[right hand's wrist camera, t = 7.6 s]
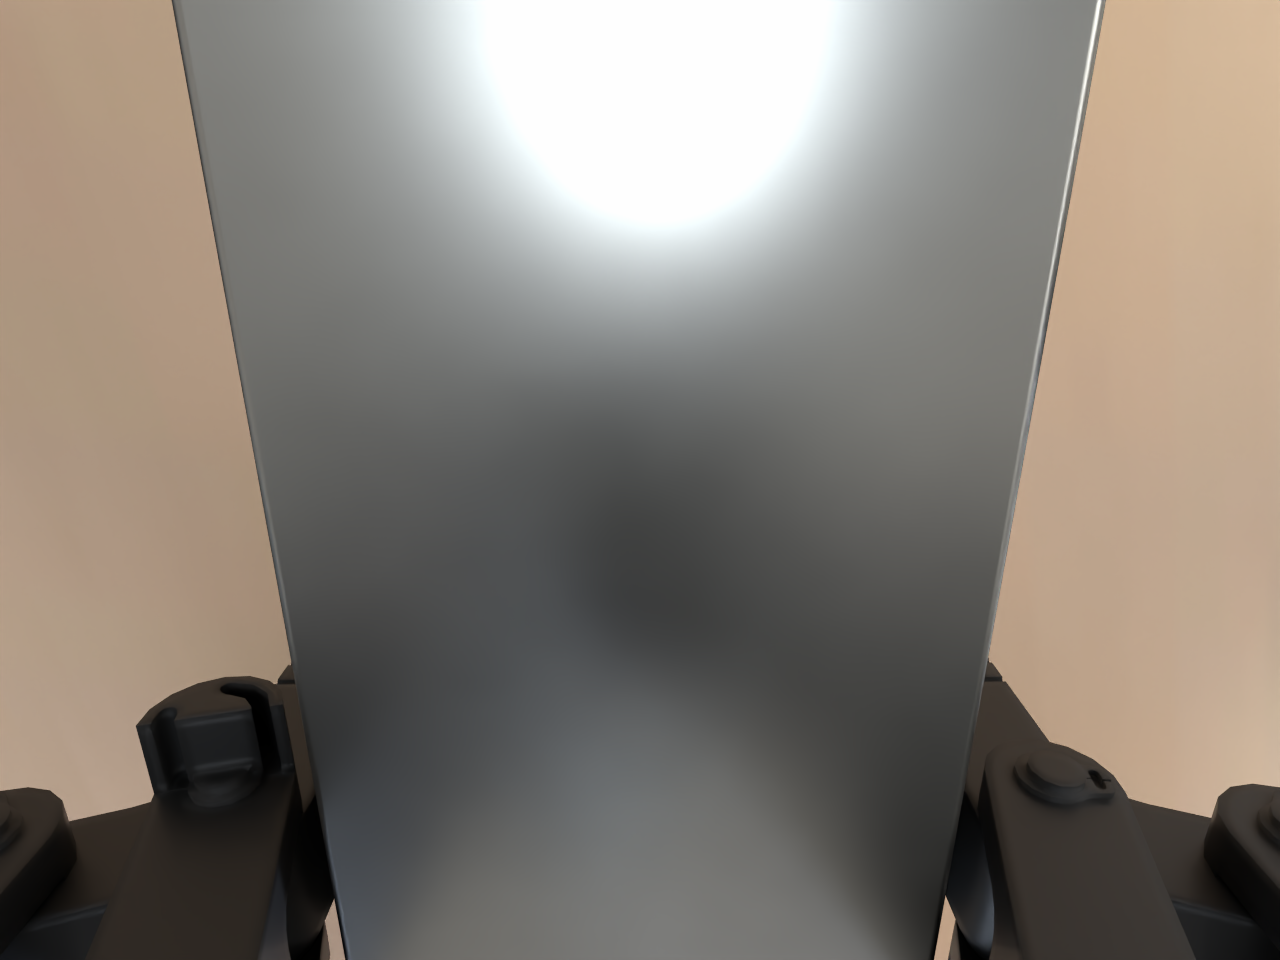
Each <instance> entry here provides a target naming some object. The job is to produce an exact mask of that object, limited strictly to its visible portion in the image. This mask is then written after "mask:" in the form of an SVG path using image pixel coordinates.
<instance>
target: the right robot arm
mask: <svg viewBox="0 0 1280 960" xmlns="http://www.w3.org/2000/svg"><path fill="white" fill-rule="evenodd" d="M136 728H137V732H138V736H139V739H140V743H141V747H142V750H143V754H144V758H145V761H146V765H147V769H148V772H149V776H150V780H151V784H152V787H153V791H154V796H153V798H152V801H151V802H149V803H146V804H143V805H139V806H136V807H132V808H128V809H123V810H119V811H114V812H110V813H105V814H101V815H96V816H92V817H87V818H83V819H78V820H74V821H69V820H68V817H67V814H66V811H65V808H64V805H63V802H62V800H61V799H60V798H58V797H57V796H56V795H55V794H54V793H52V792H51V791H50V790H43V789H36V788H29V787H27V788H20V789H12V790H5V791H0V960H329V959H330V950H329V943H328V936H327V930H326V925H325V919H326V916H327V914H328V912H329V909H330V907H331V905H332V902H333V900H334V894H333V888H332V883H331V877H330V872H329V866H328V861H327V855H326V850H325V844H324V838H323V833H322V827H321V822H320V816H319V811H318V805H317V800H316V794H315V789H314V783H313V778H312V772H311V767H310V761H309V756H308V750H307V745H306V739H305V734H304V728H303V722H302V717H301V711H300V706H299V700H298V695H297V689H296V684H295V678H294V673H293V667H292V662H291V665H288V666H287V668H286V669H285V670H284V672H283V673H282V674H281V676H280V677H279V679H278V684H273V683H272V682H270V681H268V680H264V679H260V678H255V677H251V676H243V677H224V678H219V679H215V680H211V681H206V682H202V683H198V684H195V685H193V686H191V687H188V688H186V689H184V690H181V691H179V692H176V693H174V694H172V695H170V696H169V697H167V698H166V699H164V700H163V701H161V702H160V703H158V704H157V705H155V706H154V707H152V708H151V709H150V710H149V711H148V712H147V713H146V714H145V716H144V717H143V718H142V719H141V721H140V722H139V723H138V724H137V725H136ZM946 897H947V900H948V902H949V904H950V907H951V909H952V911H953V914H954V916H955V918H956V920H955V925H954V930H953V936H952V941H951V946H950V952H949V957H948V960H1280V787H1272V786H1265V785H1258V784H1248V785H1241V786H1234V787H1230V788H1229V789H1227V790H1226V791H1225V792H1224V793H1222V794H1221V795H1220V796H1219V797H1218V799H1217V803H1216V806H1215V809H1214V812H1213V815H1212V818H1209V817H1204V816H1199V815H1195V814H1190V813H1186V812H1181V811H1177V810H1172V809H1168V808H1163V807H1158V806H1154V805H1149V804H1146V803H1142V802H1139V801H1135V800H1132V799H1128V797H1127V795H1126V793H1125V791H1124V790H1123V788H1122V787H1121V785H1120V784H1119V783H1118V781H1117V780H1116V778H1115V777H1114V775H1112V774H1111V773H1110V772H1109V771H1107V770H1106V769H1105V768H1103V767H1102V766H1101V765H1100V764H1098V763H1097V762H1096V761H1094V760H1093V759H1091V758H1089V757H1087V756H1085V755H1083V754H1081V753H1079V752H1077V751H1075V750H1073V749H1071V748H1069V747H1066V746H1062V745H1058V744H1054V743H1051V742H1049V741H1048V739H1047V738H1046V736H1045V735H1044V734H1043V732H1042V731H1041V730H1040V728H1039V727H1038V725H1037V724H1036V723H1035V721H1034V720H1033V719H1032V717H1031V716H1030V714H1029V713H1028V712H1027V710H1026V709H1025V708H1024V706H1023V705H1022V703H1021V702H1020V701H1019V699H1018V698H1017V697H1016V695H1015V694H1014V692H1013V691H1012V690H1011V688H1010V687H1009V686H1008V684H1007V683H1006V682H1003V681H1002V676H1001V675H1000V673H999V672H998V670H997V669H996V668H995V666H994V665H993V664H992V663H989V658H988V660H987V666H986V671H985V677H984V683H983V688H982V694H981V699H980V705H979V711H978V716H977V722H976V727H975V733H974V738H973V744H972V750H971V755H970V761H969V766H968V772H967V777H966V783H965V789H964V794H963V800H962V805H961V811H960V816H959V822H958V828H957V833H956V839H955V844H954V850H953V855H952V861H951V867H950V872H949V878H948V883H947V889H946Z"/></svg>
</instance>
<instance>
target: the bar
mask: <svg viewBox="0 0 1280 960" xmlns="http://www.w3.org/2000/svg"><path fill="white" fill-rule="evenodd" d="M1105 2H1106V0H172V5H173V10H174V16H175V21H176V27H177V32H178V38H179V43H180V49H181V54H182V60H183V65H184V71H185V76H186V82H187V87H188V93H189V98H190V104H191V110H192V115H193V121H194V126H195V132H196V137H197V143H198V148H199V154H200V159H201V165H202V170H203V176H204V181H205V187H206V192H207V198H208V203H209V209H210V214H211V220H212V225H213V231H214V237H215V242H216V248H217V253H218V259H219V264H220V270H221V275H222V281H223V286H224V292H225V297H226V303H227V308H228V314H229V319H230V325H231V330H232V336H233V341H234V347H235V352H236V358H237V364H238V369H239V375H240V380H241V386H242V391H243V397H244V402H245V408H246V413H247V419H248V424H249V430H250V435H251V441H252V446H253V452H254V457H255V463H256V468H257V474H258V480H259V485H260V491H261V496H262V502H263V507H264V513H265V518H266V524H267V529H268V535H269V540H270V546H271V551H272V557H273V562H274V568H275V573H276V579H277V584H278V590H279V595H280V601H281V607H282V612H283V618H284V623H285V629H286V634H287V640H288V645H289V651H290V656H291V662H292V667H293V673H294V678H295V684H296V689H297V695H298V700H299V706H300V711H301V717H302V722H303V728H304V734H305V739H306V745H307V750H308V756H309V761H310V767H311V772H312V778H313V783H314V789H315V794H316V800H317V805H318V811H319V816H320V822H321V827H322V833H323V838H324V844H325V850H326V855H327V861H328V866H329V872H330V877H331V883H332V888H333V894H334V899H335V905H336V910H337V916H338V921H339V927H340V932H341V938H342V943H343V949H344V954H345V960H934V956H935V950H936V945H937V939H938V934H939V928H940V922H941V917H942V911H943V906H944V900H945V895H946V889H947V883H948V878H949V872H950V867H951V861H952V855H953V850H954V844H955V839H956V833H957V828H958V822H959V816H960V811H961V805H962V800H963V794H964V789H965V783H966V777H967V772H968V766H969V761H970V755H971V750H972V744H973V738H974V733H975V727H976V722H977V716H978V711H979V705H980V699H981V694H982V688H983V683H984V677H985V671H986V666H987V660H988V655H989V649H990V644H991V638H992V632H993V627H994V621H995V616H996V610H997V605H998V599H999V593H1000V588H1001V582H1002V577H1003V571H1004V566H1005V560H1006V554H1007V549H1008V543H1009V538H1010V532H1011V526H1012V521H1013V515H1014V510H1015V504H1016V499H1017V493H1018V487H1019V482H1020V476H1021V471H1022V465H1023V460H1024V454H1025V448H1026V443H1027V437H1028V432H1029V426H1030V421H1031V415H1032V409H1033V404H1034V398H1035V393H1036V387H1037V381H1038V376H1039V370H1040V365H1041V359H1042V354H1043V348H1044V342H1045V337H1046V331H1047V326H1048V320H1049V315H1050V309H1051V303H1052V298H1053V292H1054V287H1055V281H1056V276H1057V270H1058V264H1059V259H1060V253H1061V248H1062V242H1063V236H1064V231H1065V225H1066V220H1067V214H1068V209H1069V203H1070V197H1071V192H1072V186H1073V181H1074V175H1075V170H1076V164H1077V158H1078V153H1079V147H1080V142H1081V136H1082V131H1083V125H1084V119H1085V114H1086V108H1087V103H1088V97H1089V92H1090V86H1091V80H1092V75H1093V69H1094V64H1095V58H1096V52H1097V47H1098V41H1099V36H1100V30H1101V25H1102V19H1103V13H1104V8H1105Z"/></svg>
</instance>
